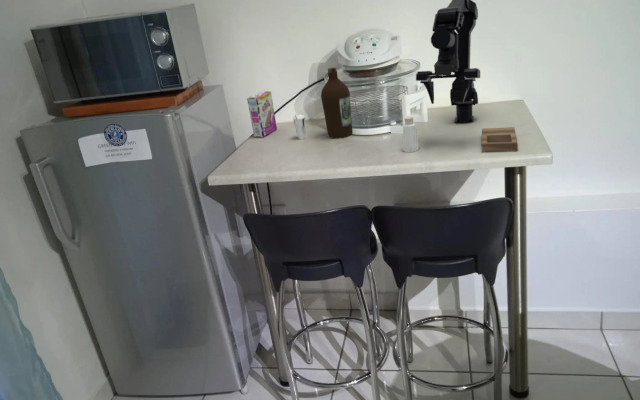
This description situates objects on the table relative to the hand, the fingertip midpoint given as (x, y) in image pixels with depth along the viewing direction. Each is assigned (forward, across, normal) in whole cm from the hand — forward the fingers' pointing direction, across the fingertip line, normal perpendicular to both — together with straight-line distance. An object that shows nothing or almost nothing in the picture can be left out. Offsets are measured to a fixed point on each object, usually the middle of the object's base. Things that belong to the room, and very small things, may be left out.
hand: (447, 103), depth 153 cm
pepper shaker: (+15, -11, -2) cm, 18 cm away
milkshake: (+12, -57, +9) cm, 59 cm away
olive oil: (+11, -43, +13) cm, 46 cm away
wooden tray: (+13, +15, +5) cm, 20 cm away
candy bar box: (+11, -77, +14) cm, 79 cm away
